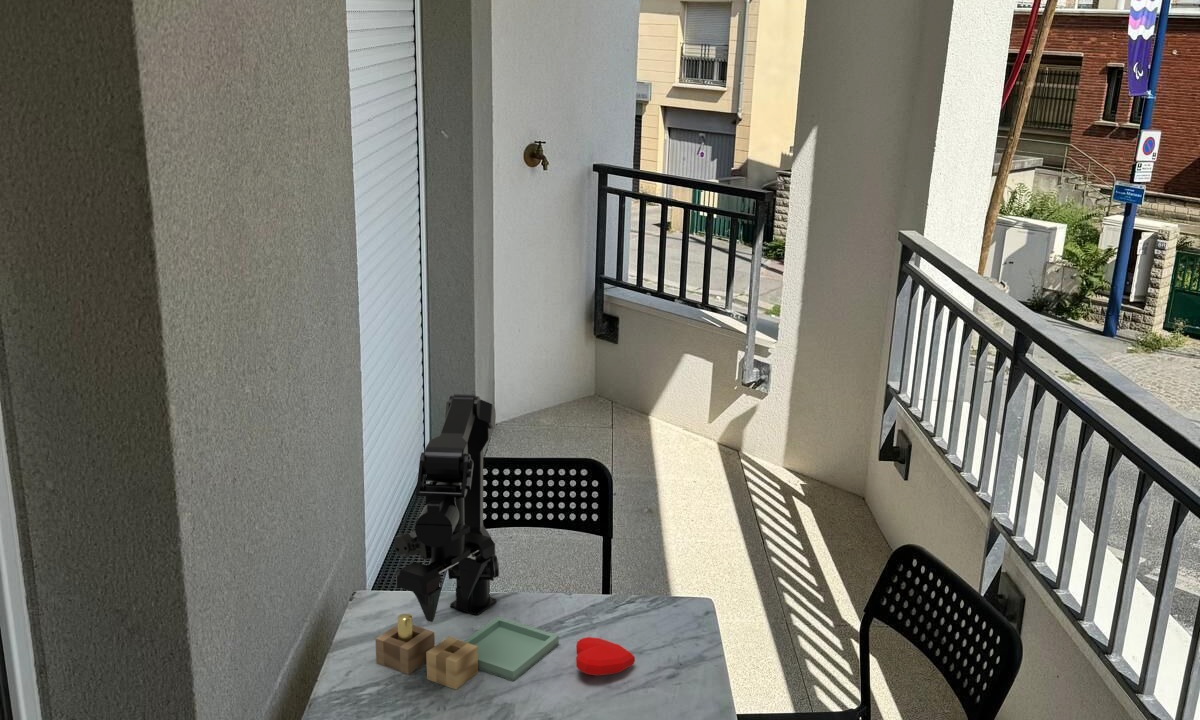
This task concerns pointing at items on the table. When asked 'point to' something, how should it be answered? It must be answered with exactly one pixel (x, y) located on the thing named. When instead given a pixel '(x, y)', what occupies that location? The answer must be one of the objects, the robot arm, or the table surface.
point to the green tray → (510, 647)
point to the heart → (601, 657)
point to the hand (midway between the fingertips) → (448, 609)
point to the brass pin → (405, 627)
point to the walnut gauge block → (404, 649)
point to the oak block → (452, 662)
